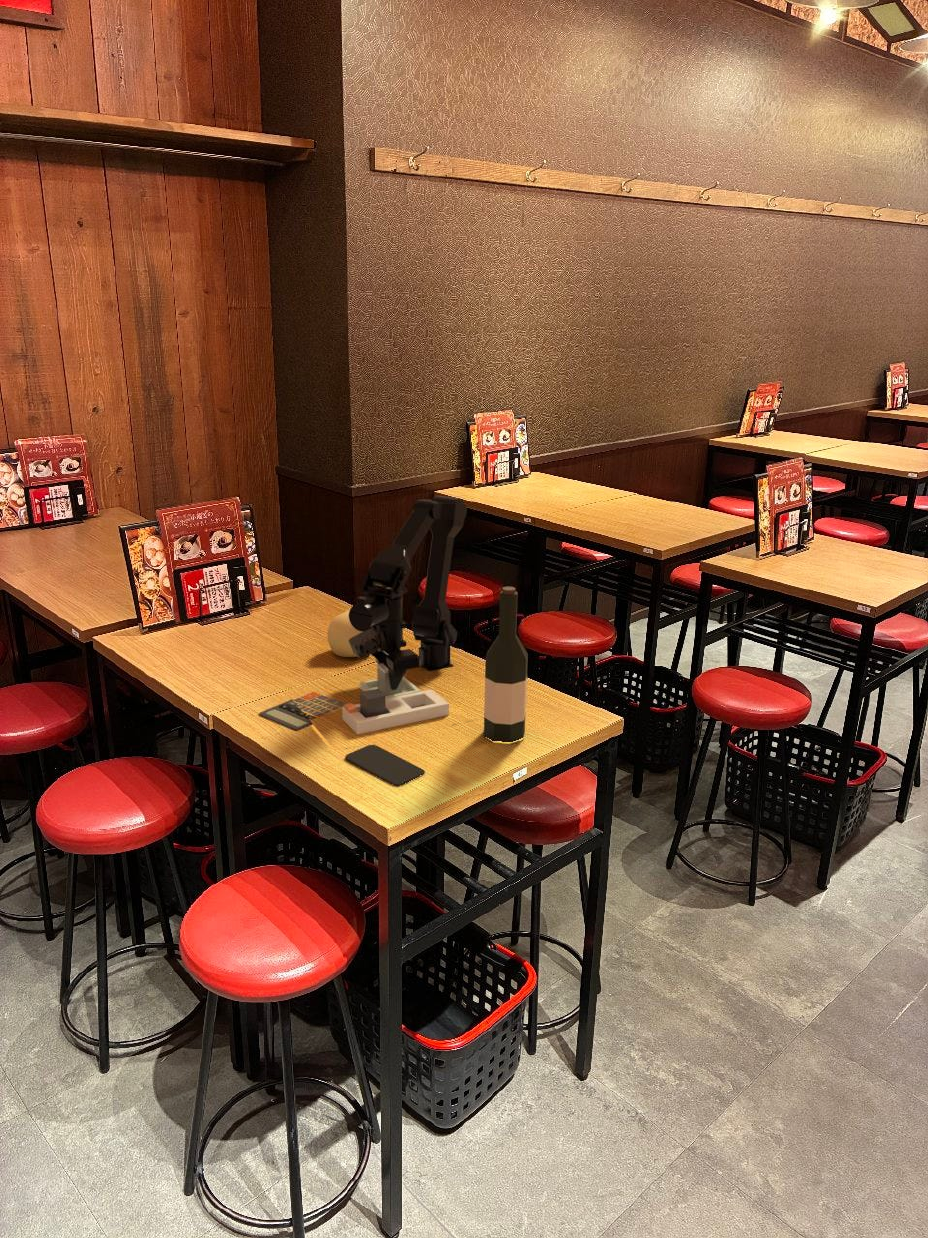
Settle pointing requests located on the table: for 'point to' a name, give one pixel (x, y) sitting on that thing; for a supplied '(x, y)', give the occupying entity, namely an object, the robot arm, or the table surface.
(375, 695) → the power strip
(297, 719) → the calculator
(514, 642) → the wine bottle
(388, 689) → the plug
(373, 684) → the tray
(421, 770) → the phone
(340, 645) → the beige round lump
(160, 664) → the table surface
